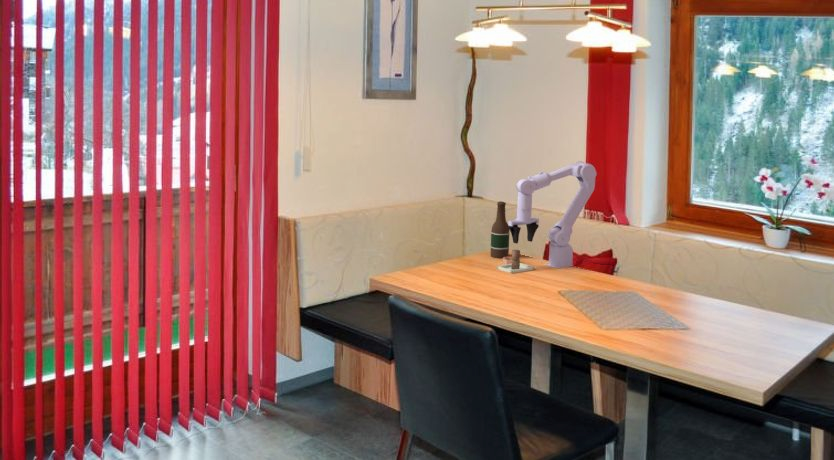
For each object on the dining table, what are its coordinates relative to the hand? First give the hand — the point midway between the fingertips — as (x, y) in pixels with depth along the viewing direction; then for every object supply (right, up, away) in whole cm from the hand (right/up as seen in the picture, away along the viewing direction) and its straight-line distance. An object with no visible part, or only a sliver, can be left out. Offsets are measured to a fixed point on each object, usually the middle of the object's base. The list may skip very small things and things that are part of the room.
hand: (522, 242), depth 358 cm
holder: (-4, -9, +6) cm, 12 cm away
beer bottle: (-8, -7, +18) cm, 21 cm away
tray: (-3, -11, -4) cm, 12 cm away
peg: (-3, -11, -4) cm, 12 cm away
